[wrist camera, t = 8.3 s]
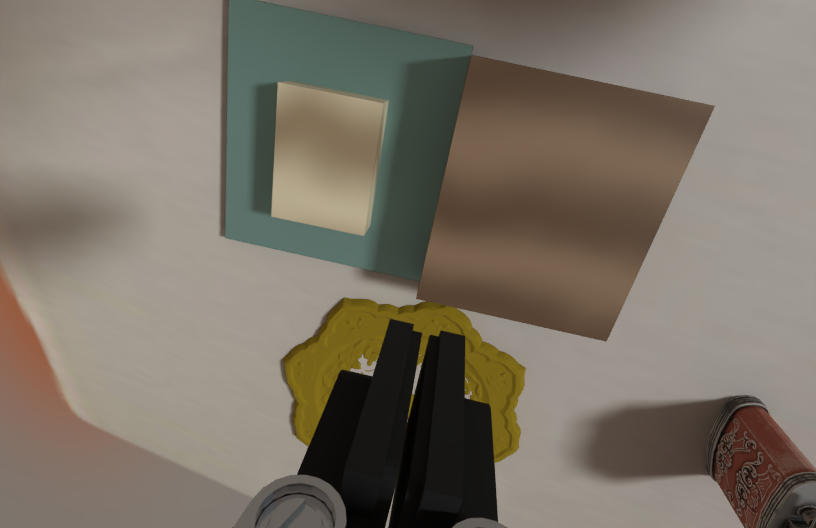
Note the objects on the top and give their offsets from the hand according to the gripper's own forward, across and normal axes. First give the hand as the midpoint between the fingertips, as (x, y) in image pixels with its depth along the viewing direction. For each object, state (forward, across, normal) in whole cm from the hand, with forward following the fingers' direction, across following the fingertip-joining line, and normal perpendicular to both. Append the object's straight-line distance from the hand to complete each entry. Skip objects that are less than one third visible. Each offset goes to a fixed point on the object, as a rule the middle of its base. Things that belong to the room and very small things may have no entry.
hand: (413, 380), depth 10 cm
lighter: (+21, -26, +15) cm, 36 cm away
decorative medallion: (+21, 0, +20) cm, 29 cm away
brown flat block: (+20, -6, 0) cm, 21 cm away
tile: (+18, +7, +1) cm, 19 cm away
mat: (+20, +7, 0) cm, 22 cm away
